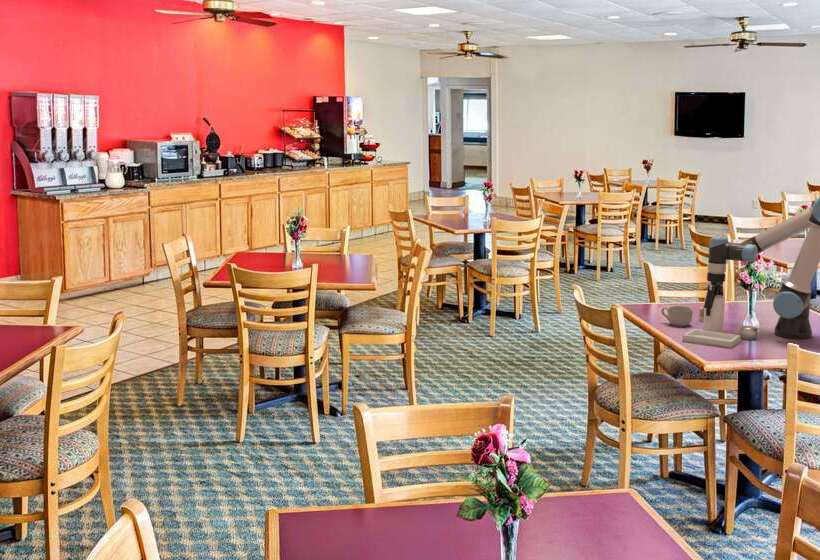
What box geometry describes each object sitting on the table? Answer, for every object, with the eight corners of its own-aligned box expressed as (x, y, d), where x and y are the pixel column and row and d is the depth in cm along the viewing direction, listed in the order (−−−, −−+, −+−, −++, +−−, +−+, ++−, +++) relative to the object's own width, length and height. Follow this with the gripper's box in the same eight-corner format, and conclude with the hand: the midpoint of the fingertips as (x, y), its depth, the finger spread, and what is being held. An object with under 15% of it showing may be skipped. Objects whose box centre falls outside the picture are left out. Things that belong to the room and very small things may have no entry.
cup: (725, 334, 404) (727, 298, 402) (705, 334, 405) (708, 298, 402) (719, 330, 412) (721, 294, 410) (700, 329, 413) (702, 294, 410)
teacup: (696, 325, 422) (697, 308, 420) (684, 329, 414) (685, 311, 413) (668, 320, 431) (669, 303, 430) (656, 324, 424) (657, 306, 422)
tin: (758, 338, 398) (759, 326, 397) (754, 341, 392) (755, 330, 391) (742, 336, 402) (742, 324, 401) (737, 339, 396) (738, 327, 395)
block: (710, 320, 433) (711, 307, 432) (710, 322, 428) (711, 309, 427) (699, 319, 434) (700, 306, 433) (699, 321, 430) (699, 308, 429)
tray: (740, 341, 391) (740, 335, 391) (730, 348, 380) (731, 341, 379) (693, 335, 402) (693, 328, 402) (682, 341, 391) (682, 335, 391)
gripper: (716, 267, 416) (713, 314, 420) (698, 275, 396) (695, 324, 400) (733, 269, 412) (730, 316, 416) (716, 277, 392) (712, 326, 395)
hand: (712, 320), depth 408 cm, fingers open, 13 cm apart
